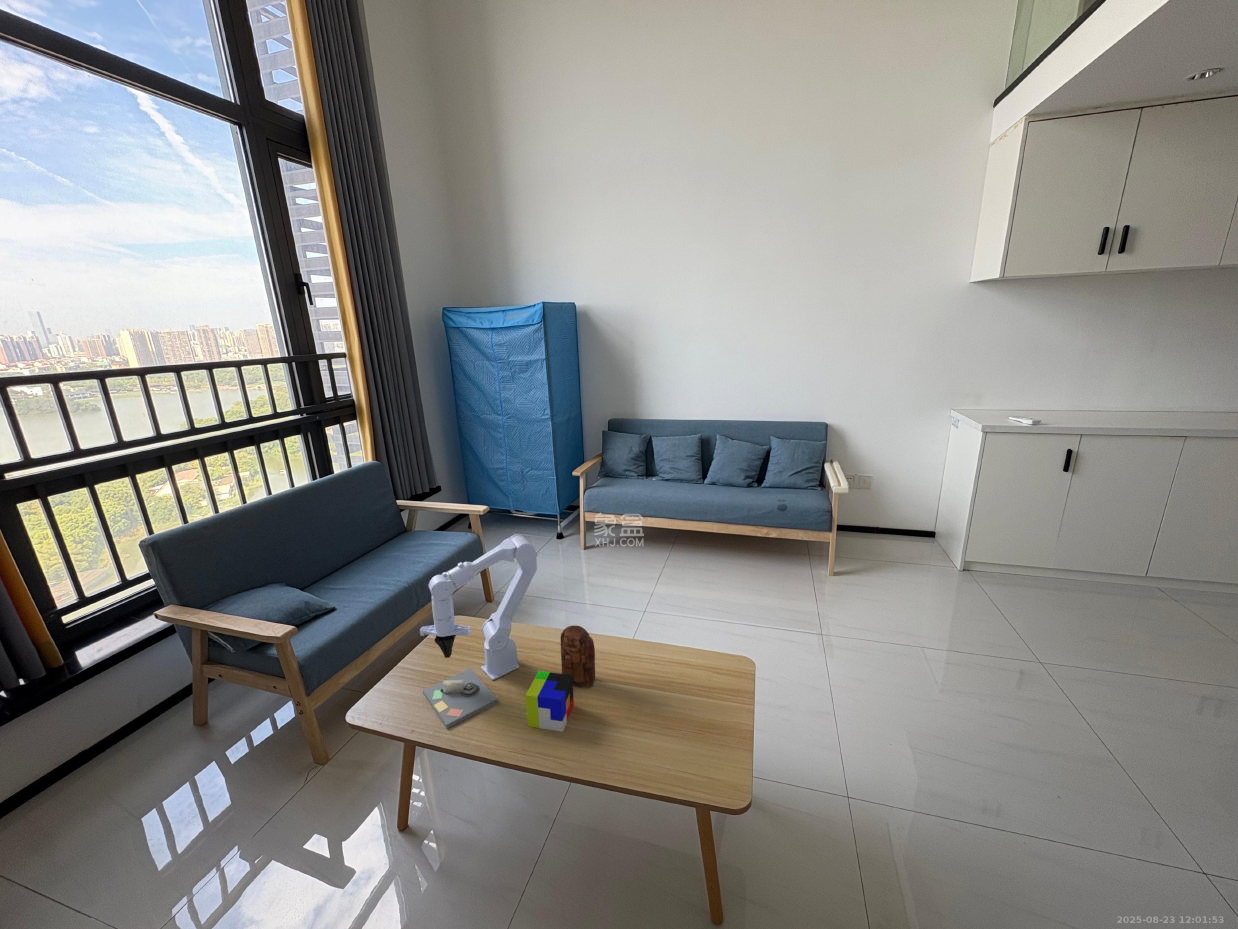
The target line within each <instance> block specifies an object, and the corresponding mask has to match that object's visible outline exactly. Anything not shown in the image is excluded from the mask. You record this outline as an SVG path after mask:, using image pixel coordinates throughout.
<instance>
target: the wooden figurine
mask: <svg viewBox="0 0 1238 929" xmlns="http://www.w3.org/2000/svg"><path fill="white" fill-rule="evenodd" d="M594 644H595V642H594V639H593V638H592V637H591V636H590V633H589V632H588V630H586V629H585V628H584V627H582V626H580V625H570V626H566V627H565V628H564V629H563V631H562V632H561V634H560V652H561V653H560V658H561V662H560V663H561V674H568V675H573V687H576V688H582V687H585V688H588V689H590V688H592V687H593V685H594V683H595V681H596V651H595V650H596V649H595V645H594Z"/></svg>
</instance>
